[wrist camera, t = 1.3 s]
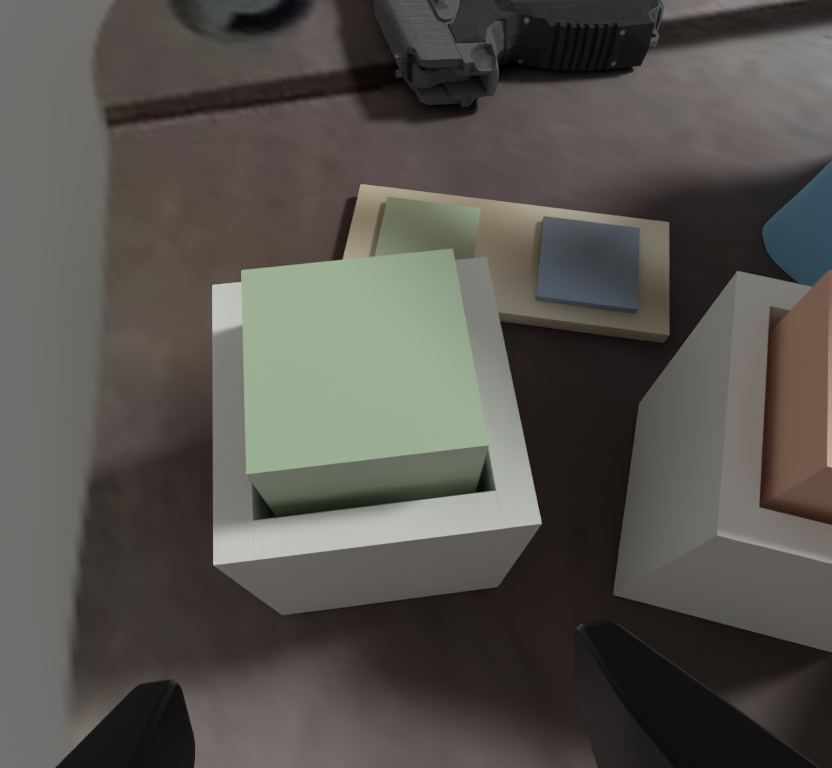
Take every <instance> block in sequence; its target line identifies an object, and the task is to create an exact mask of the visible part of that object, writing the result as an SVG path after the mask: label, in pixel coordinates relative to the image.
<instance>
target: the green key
mask: <svg viewBox="0 0 832 768" xmlns="http://www.w3.org/2000/svg"><path fill="white" fill-rule="evenodd" d="M241 285H242V326H243V367H244V408H245V449H246V475H247V476H248V478H249V479H250V480H251V482H252V483H253V485H254V486H255V488H256V489H257V490H258V492H259V493H260V495H261V496H262V497H263V499H264V500H265V502H266V503H267V505H268V506H269V507H270V509H271V510H272V512H273V513H274V514H275V516H276V517H277V518H278V517H286V516H295V515H303V514H311V513H319V512H327V511H335V510H343V509H351V508H359V507H367V506H376V505H384V504H392V503H400V502H408V501H416V500H424V499H432V498H440V497H448V496H456V495H465V494H473V493H475V492H476V488H477V485H478V481H479V478H480V474H481V471H482V467H483V464H484V460H485V457H486V453H487V450H488V447H489V443H488V438H487V432H486V427H485V421H484V416H483V410H482V405H481V399H480V394H479V389H478V383H477V378H476V372H475V367H474V361H473V356H472V350H471V345H470V339H469V334H468V328H467V323H466V318H465V312H464V307H463V301H462V296H461V290H460V285H459V279H458V274H457V268H456V263H455V257H454V252H453V249H444V250H434V251H424V252H414V253H405V254H395V255H385V256H375V257H366V258H356V259H346V260H336V261H327V262H317V263H307V264H297V265H288V266H278V267H268V268H258V269H249V270H241Z"/></svg>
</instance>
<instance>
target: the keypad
mask: <svg viewBox="0 0 832 768" xmlns="http://www.w3.org/2000/svg"><path fill="white" fill-rule="evenodd" d="M455 263H456V268H457V274H458V279H459V285H460V290H461V296H462V301H463V307H464V312H465V318H466V323H467V328H468V334H469V339H470V345H471V350H472V356H473V361H474V367H475V372H476V378H477V383H478V389H479V394H480V399H481V405H482V410H483V416H484V421H485V427H486V432H487V438H488V443H489V447H488V450H487V453H486V457H485V460H484V464H483V467H482V471H481V474H480V478H479V481H478V485H477V488H476V492H475V493H473V494H465V495H456V496H448V497H440V498H432V499H424V500H416V501H408V502H400V503H392V504H384V505H376V506H367V507H359V508H351V509H343V510H335V511H327V512H319V513H311V514H303V515H295V516H286V517H278V518H277V517H276V516H275V514H274V513H273V512H272V510H271V509H270V507H269V506H268V505H267V503H266V502H265V500H264V499H263V497H262V496H261V495H260V493H259V492H258V490H257V489H256V488H255V486H254V485H253V483H252V482H251V480H250V479H249V478H248V476H247V475H246V449H245V408H244V367H243V326H242V285H241V282H237V283H227V284H218V285H212V333H213V566H215V567H216V568H218V569H219V570H220V571H222V572H223V573H224V574H226V575H227V576H229V577H230V578H231V579H233V580H234V581H236V582H237V583H238V584H240V585H241V586H242V587H244V588H245V589H247V590H248V591H249V592H251V593H252V594H253V595H255V596H256V597H258V598H259V599H260V600H262V601H263V602H265V603H266V604H267V605H269V606H270V607H271V608H273V609H274V610H276V611H277V612H278V613H280V614H281V615H289V614H296V613H304V612H312V611H320V610H327V609H335V608H343V607H350V606H358V605H365V604H373V603H381V602H388V601H396V600H403V599H411V598H419V597H426V596H434V595H441V594H449V593H456V592H464V591H472V590H479V589H486V588H494V587H498V586H499V585H500V583H501V582H502V580H503V579H504V577H505V576H506V575H507V573H508V572H509V570H510V569H511V567H512V566H513V565H514V563H515V562H516V560H517V559H518V557H519V556H520V554H521V553H522V552H523V550H524V549H525V547H526V546H527V544H528V543H529V542H530V540H531V539H532V537H533V536H534V534H535V533H536V531H537V530H538V529H539V527H540V526H541V524H542V522H541V517H540V512H539V507H538V502H537V497H536V493H535V488H534V483H533V478H532V473H531V468H530V464H529V459H528V454H527V449H526V444H525V440H524V435H523V430H522V425H521V420H520V415H519V411H518V406H517V401H516V396H515V391H514V386H513V382H512V377H511V372H510V367H509V362H508V357H507V353H506V348H505V343H504V338H503V333H502V328H501V324H500V319H499V314H498V309H497V304H496V299H495V295H494V290H493V285H492V280H491V275H490V270H489V266H488V261H487V257H479V258H469V259H459V260H455ZM811 288H812V287H811V286H806V285H801V284H797V283H792V282H787V281H782V280H778V279H773V278H768V277H764V276H759V275H754V274H749V273H745V272H740V271H737V272H736V273H735V275H734V276H733V277H732V279H731V280H730V281H729V283H728V284H727V285H726V287H725V288H724V289H723V291H722V292H721V294H720V295H719V296H718V298H717V299H716V300H715V302H714V303H713V304H712V306H711V307H710V308H709V310H708V311H707V312H706V314H705V315H704V317H703V318H702V319H701V321H700V322H699V323H698V325H697V326H696V327H695V329H694V330H693V331H692V333H691V334H690V335H689V337H688V338H687V339H686V341H685V342H684V344H683V345H682V346H681V348H680V349H679V350H678V352H677V353H676V354H675V356H674V357H673V358H672V360H671V361H670V362H669V364H668V365H667V367H666V368H665V369H664V371H663V372H662V373H661V375H660V376H659V377H658V379H657V380H656V381H655V383H654V384H653V385H652V387H651V388H650V389H649V391H648V392H647V394H646V395H645V396H644V398H643V399H642V400H641V402H640V403H639V407H638V414H637V422H636V429H635V436H634V444H633V451H632V458H631V466H630V473H629V480H628V488H627V495H626V502H625V510H624V517H623V524H622V532H621V539H620V546H619V553H618V561H617V568H616V575H615V583H614V590H613V595H615V596H619V597H623V598H627V599H630V600H634V601H638V602H643V603H646V604H650V605H654V606H658V607H662V608H665V609H669V610H673V611H677V612H680V613H684V614H688V615H692V616H696V617H699V618H703V619H707V620H711V621H715V622H718V623H722V624H726V625H730V626H733V627H737V628H741V629H745V630H749V631H752V632H756V633H760V634H764V635H767V636H771V637H775V638H779V639H783V640H786V641H790V642H794V643H798V644H802V645H805V646H809V647H813V648H816V649H820V650H824V651H828V652H832V525H829V524H825V523H821V522H817V521H813V520H809V519H805V518H801V517H797V516H793V515H789V514H785V513H781V512H776V511H772V510H768V509H764V508H760V507H759V502H760V483H761V463H762V444H763V425H764V406H765V387H766V367H767V348H768V333H769V332H770V331H771V330H772V329H773V328H774V327H775V326H776V325H777V324H778V323H779V322H780V321H781V320H782V319H783V318H784V317H785V316H786V314H787V313H788V312H789V311H790V310H791V309H792V308H793V307H794V306H795V305H796V304H797V303H798V302H799V301H800V300H801V299H802V298H803V297H804V295H805V294H806V293H807V292H808V291H809V290H810V289H811Z"/></svg>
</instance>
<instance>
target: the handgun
mask: <svg viewBox="0 0 832 768" xmlns="http://www.w3.org/2000/svg"><path fill="white" fill-rule="evenodd" d="M663 9H664V6H663V4H662V2H661V1H660V0H374V15H375V17H376V20H377V22H378V24H379V26H380V28H381V30H382V32H383V35H384V37H385V39H386V41H387V43H388V45H389V48H390V50H391V52H392V54H393V56H394V58H395V62H396V64H397V65H398V67H399V69H398V70H396V71H395V76H396V78H399V77H403V78H404V80H405V82H406V83H407V84H408V85H409V86H410V87H411V88H412V89H413V90H414V91H415V92H416V94H417V96H418V99H419V101H420V102H421V103H424V104H427V105H438V104H457V103H460V105H461V107H466V106H470V105H471V103H472V102H473V101H474V100H475V99H476V98H478V97H483V96H493V95H494V93H495V91H496V87H497V82H498V78H499V66H502V65H504V64H506V63H518V64H522V65H527V66H534V67H538V68H541V69H553V70H558V69H561V70H567V69H569V70H571V71H575V70H579V71H584V70H588V71H589V70H601V69H615V68H624V67H633V66H641V64H642V62H643V59H644V57H645V55H646V53H647V51H648V49H649V48H653V47H655V46H656V44H657V41H658V39H659V35H658V33H657V32H658V29H659V26H660V23H661V20H662V15H663Z"/></svg>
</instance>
